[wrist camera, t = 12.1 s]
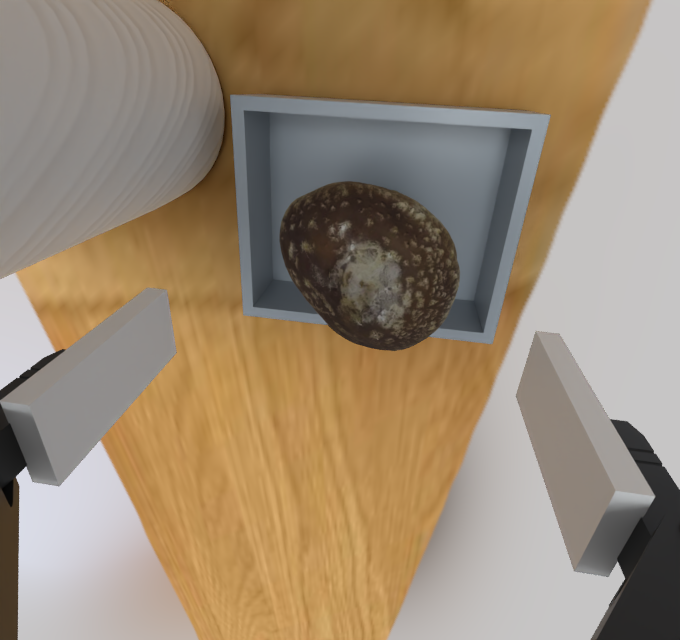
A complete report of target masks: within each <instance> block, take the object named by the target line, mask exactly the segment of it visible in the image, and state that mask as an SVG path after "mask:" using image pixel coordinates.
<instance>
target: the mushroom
mask: <svg viewBox="0 0 680 640" xmlns="http://www.w3.org/2000/svg"><path fill="white" fill-rule="evenodd" d="M279 242H280V248H281V253H282V257H283V260H284V263H285V267H286V269H287V271H288V273H289V275H290V277H291V279H292V281H293V282H294V284H295V285H296V287H297V288H298V289H299V291H300V292H301V293H302V295H303V296H304V297H305V299H306V300H307V301H308V302H309V304H310V305H311V306H312V307H313V308H314V309H315V311H316V312H317V313H318V314H319V315H320V316H321V317H322V318H323V320H324V321H325V322H326V323H327V324H328V326H329V327H330V328H332V329H333V330H334V331H335V332H336V333H337V334H339V335H341V336H342V337H344V338H345V339H347V340H349V341H351V342H353V343H355V344H359V345H362V346H366V347H370V348H374V349H379V350H391V351H397V350H402V349H406V348H409V347H411V346H414V345H415V344H417V343H419V342H421V341H422V340H424V339H426V338H427V337H429V336H430V335H431V334H433V333H434V332H435V331H436V330H437V329H438V328H439V327H440V326H441V325H442V324H443V322H444V321H445V320H446V318H447V316H448V314H449V311H450V309H451V307H452V305H453V302H454V300H455V297H456V294H457V291H458V287H459V282H460V268H459V264H458V261H457V252H456V248H455V244H454V242H453V240H452V238H451V236H450V234H449V232H448V231H447V229H446V228H445V227H444V225H443V224H442V223H441V222H440V220H438V219H437V218H436V217H435V216H434V215H433V214H432V213H431V212H430V211H429V210H427V209H426V208H425V207H424V206H423V205H421V204H420V203H419V202H417V201H416V200H414V199H412V198H410V197H408V196H406V195H404V194H402V193H400V192H398V191H395V190H390V189H387V188H384V187H380V186H376V185H372V184H366V183H361V182H353V181H344V182H335V183H331V184H327V185H325V186H322V187H320V188H318V189H316V190H314V191H312V192H310V193H307V194H305V195H303V196H301V197H299V198H297V199H295V200H294V201H293V202H292V203H291V204H290V205H289V207H288V208H287V210H286V211H285V214H284V216H283V218H282V221H281V226H280V234H279Z"/></svg>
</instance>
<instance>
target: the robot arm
mask: <svg viewBox="0 0 680 640" xmlns="http://www.w3.org/2000/svg"><path fill="white" fill-rule="evenodd" d="M176 353H177V352H176V346H175V339H174V333H173V326H172V320H171V313H170V307H169V300H168V294H167V290H164V289H155V288H146V289H145V290H143V291H142V292H141V293H140V294H138V295H137V296H136V297H134V298H133V299H132V300H130V301H129V302H128V303H126V304H125V305H124V306H123V307H121V308H120V309H119V310H117V311H116V312H115V313H113V314H112V315H111V316H110V317H108V318H107V319H106V320H104V321H103V322H102V323H100V324H99V325H98V326H97V327H95V328H94V329H93V330H91V331H90V332H89V333H87V334H86V335H85V336H84V337H82V338H81V339H80V340H78V341H77V342H76V343H74V344H73V345H72V346H70V347H69V348H68V349H67V350H64V349H62V350H60V351H58V352H55V353H53V354H51V355H49V356H47V357H44V358H43V359H42V360H40V361H39V362H38V363H36V364H35V365H34V366H32V367H31V369H30V370H27V371H26V372H24V373H23V374H22V375H20V378H16V379H15V380H13V381H12V382H11V383H9V384H8V385H7V386H5V387H4V388H3V389H1V390H0V640H18V639H17V638H18V637H17V636H18V551H19V547H18V546H19V544H18V543H19V484H18V482H17V479H16V476H17V475H18V474H19V473H20V472H21V471H22V470H23V469H24V468H25V467H27V469H28V471H29V474H30V476H31V479H32V481H33V482H37V483H42V484H48V485H55V486H60V485H61V484H62V483H63V482H64V480H65V479H66V478H67V477H68V476H69V475H70V474H71V472H72V471H73V470H74V469H75V468H76V467H77V466H78V464H79V463H80V462H81V461H82V460H83V459H84V458H85V456H86V455H87V454H88V453H89V452H90V451H91V450H92V448H93V447H94V446H95V445H96V444H97V443H98V442H99V441H100V439H101V438H102V437H103V436H104V435H105V434H106V433H107V431H108V430H109V429H110V428H111V427H112V426H113V425H114V423H115V422H116V421H117V420H118V419H119V418H120V417H121V415H122V414H123V413H124V412H125V411H126V410H127V409H128V407H129V406H130V405H131V404H132V403H133V402H134V401H135V399H136V398H137V397H138V396H139V395H140V394H141V393H142V392H143V390H144V389H145V388H146V387H147V386H148V385H149V384H150V382H151V381H152V380H153V379H154V378H155V377H156V376H157V374H158V373H159V372H160V371H161V370H162V369H163V368H164V366H165V365H166V364H167V363H168V362H169V361H170V360H171V358H172V357H173V356H174V355H175V354H176ZM516 398H517V401H518V404H519V406H520V410H521V412H522V416H523V419H524V422H525V425H526V428H527V431H528V434H529V437H530V440H531V443H532V446H533V449H534V452H535V455H536V458H537V461H538V464H539V467H540V470H541V473H542V476H543V479H544V482H545V485H546V488H547V490H548V494H549V497H550V500H551V503H552V506H553V509H554V512H555V515H556V518H557V521H558V524H559V527H560V530H561V533H562V536H563V539H564V542H565V545H566V548H567V551H568V554H569V557H570V560H571V563H572V566H573V569H574V571H575V572H582V573H588V574H594V575H600V576H606V577H608V576H609V575H610V573H611V572H612V570H613V568H614V567H615V565H616V563H617V561H618V563H619V565H620V567H621V569H622V571H623V574H624V576H625V580H624V582H623V583H622V585H621V586H620V588H619V590H618V591H617V593H616V595H615V596H614V598H613V600H612V601H611V603H610V604H609V608H608V610H607V612H606V613H605V615H604V617H603V619H602V621H601V622H600V624H599V626H598V628H597V629H596V631H595V633H594V635H593V637H592V638H591V640H680V490H679V489H678V487H677V485H676V484H675V483H674V481H673V479H672V478H671V476H670V475H669V473H668V472H667V470H666V469H665V467H662V463H661V461H660V460H659V458H658V457H657V455H656V454H654V450H653V449H652V448H651V446H650V444H649V443H648V441H647V440H646V438H645V437H644V436H643V435H642V434H641V433H640V432H639V431H638V430H637V429H635V428H634V427H633V426H632V425H631V424H630V423H628V422H627V421H619V420H612V419H609V417H608V415H607V414H606V412H605V410H604V408H603V407H602V405H601V403H600V402H599V400H598V399H597V397H596V395H595V393H594V392H593V390H592V388H591V386H590V385H589V383H588V382H587V380H586V378H585V376H584V375H583V373H582V371H581V369H580V368H579V366H578V365H577V363H576V361H575V359H574V358H573V356H572V354H571V353H570V351H569V349H568V347H567V346H566V344H565V342H564V341H563V339H562V337H561V336H560V334H557V333H547V332H539V331H536V332H535V335H534V339H533V342H532V345H531V348H530V352H529V355H528V358H527V361H526V365H525V368H524V371H523V374H522V377H521V381H520V384H519V387H518V390H517V394H516Z"/></svg>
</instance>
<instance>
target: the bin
mask: <svg viewBox="0 0 680 640" xmlns="http://www.w3.org/2000/svg"><path fill="white" fill-rule="evenodd" d="M230 100H231V117H232V133H233V150H234V167H235V184H236V200H237V217H238V234H239V250H240V267H241V284H242V300H243V315H246V316H255V317H264V318H272V319H281V320H289V321H298V322H307V323H315V324H324V325H328V324H327V323H326V322H325V321H324V320H323V318H322V317H321V316H320V315H319V314H318V313H317V312H316V311H315V309H314V308H313V307H312V306H311V305H310V304H309V302H308V301H307V300H306V299H305V297H304V296H303V295H302V293H301V292H300V291H299V289H298V288H297V287H296V285H295V284H294V282H293V281H292V279H291V277H290V275H289V273H288V271H287V269H286V267H285V263H284V260H283V257H282V253H281V248H280V242H279V234H280V226H281V221H282V218H283V216H284V214H285V211H286V210H287V208H288V207H289V205H290V204H291V203H292V202H293V201H294V200H295V199H297V198H299V197H301V196H303V195H305V194H307V193H310V192H312V191H314V190H316V189H318V188H320V187H322V186H325V185H327V184H331V183H335V182H344V181H353V182H361V183H366V184H372V185H376V186H380V187H384V188H387V189H390V190H395V191H398V192H400V193H402V194H404V195H406V196H408V197H410V198H412V199H414V200H416V201H417V202H419V203H420V204H421V205H423V206H424V207H425V208H426V209H427V210H429V211H430V212H431V213H432V214H433V215H434V216H435V217H436V218H437V219H438V220H440V222H441V223H442V224H443V225H444V227H445V228H446V229H447V231H448V232H449V234H450V236H451V238H452V240H453V242H454V244H455V248H456V252H457V261H458V264H459V268H460V282H459V287H458V291H457V294H456V297H455V300H454V302H453V305H452V307H451V309H450V311H449V314H448V316H447V318H446V320H445V321H444V322H443V324H442V325H441V326H440V327H439V328H438V329H437V330H436V331H435V332H434V333H433V334H431V335H430V336H429V337H436V338H444V339H453V340H461V341H470V342H479V343H487V344H493V340H494V336H495V332H496V328H497V324H498V320H499V316H500V312H501V308H502V304H503V301H504V297H505V293H506V289H507V285H508V281H509V277H510V273H511V269H512V265H513V261H514V257H515V253H516V249H517V246H518V242H519V238H520V234H521V230H522V226H523V222H524V218H525V214H526V210H527V206H528V202H529V198H530V194H531V190H532V187H533V183H534V179H535V175H536V171H537V167H538V163H539V159H540V155H541V151H542V147H543V143H544V139H545V135H546V132H547V128H548V124H549V120H550V116H551V115H548V114H543V113H537V112H532V111H527V110H512V109H496V108H480V107H463V106H447V105H431V104H415V103H399V102H383V101H367V100H351V99H335V98H319V97H303V96H286V95H270V94H240V95H230Z"/></svg>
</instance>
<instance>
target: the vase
mask: <svg viewBox="0 0 680 640" xmlns="http://www.w3.org/2000/svg"><path fill="white" fill-rule="evenodd" d="M224 116H225V111H224V103H223V95H222V91H221V87H220V83H219V79H218V76H217V74H216V71H215V69H214V66H213V63H212V61H211V59H210V57H209V55H208V54H207V52H206V50H205V48H204V46H203V45H202V43H201V42H200V40H199V39H198V38H197V36H196V35H195V34H194V32H193V31H192V29H191V28H190V27H189V26H188V25H187V24H186V23H185V22H184V21H183V20H182V19H181V18H180V17H179V16H178V15H177V14H175V13H174V12H173V11H172V10H170V9H169V8H168V7H167V6H165V5H164V4H163V3H161V2H159V1H158V0H0V279H2V278H4V277H6V276H8V275H10V274H13V273H15V272H17V271H19V270H22V269H24V268H26V267H28V266H31V265H33V264H35V263H37V262H39V261H42V260H44V259H46V258H48V257H51V256H53V255H55V254H57V253H59V252H62V251H64V250H66V249H68V248H71V247H73V246H75V245H77V244H80V243H82V242H84V241H86V240H88V239H91V238H93V237H95V236H97V235H100V234H102V233H104V232H106V231H109V230H111V229H113V228H115V227H118V226H120V225H122V224H124V223H127V222H129V221H131V220H133V219H136V218H138V217H140V216H142V215H144V214H146V213H149V212H151V211H153V210H155V209H157V208H159V207H161V206H163V205H165V204H167V203H169V202H171V201H173V200H174V199H176V198H178V197H179V196H181V195H183V194H184V193H186V192H188V191H189V190H191V189H192V188H193V187H195V186H196V185H197V184H198V183H199V182H200V181H201V180H202V179H203V178H204V177H205V176H206V175H207V173H208V172H209V171H210V169H211V168H212V166H213V164H214V162H215V160H216V158H217V156H218V153H219V150H220V147H221V144H222V139H223V133H224Z"/></svg>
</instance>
